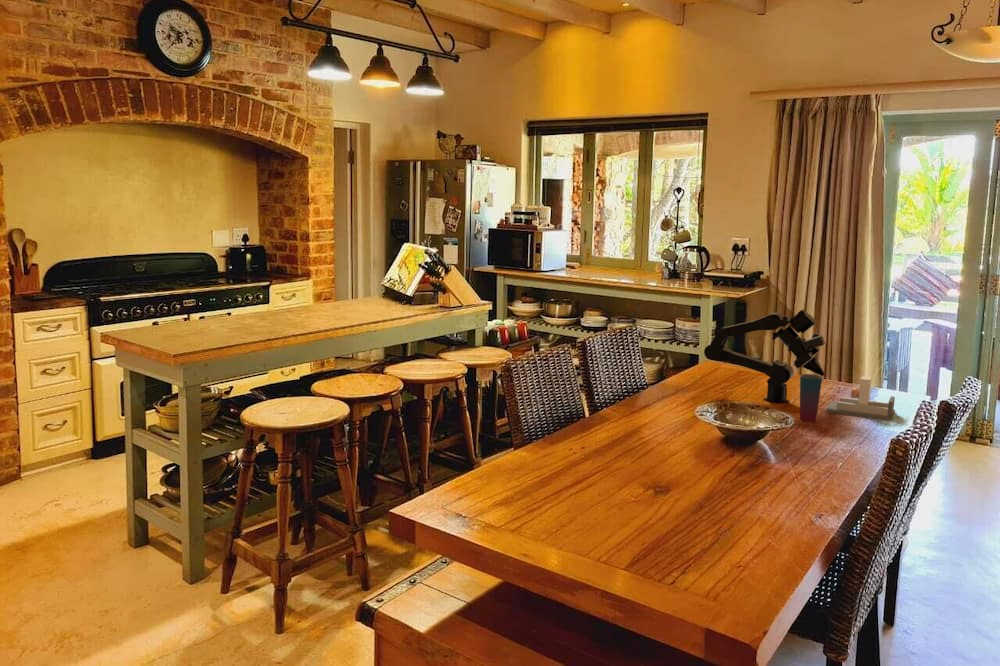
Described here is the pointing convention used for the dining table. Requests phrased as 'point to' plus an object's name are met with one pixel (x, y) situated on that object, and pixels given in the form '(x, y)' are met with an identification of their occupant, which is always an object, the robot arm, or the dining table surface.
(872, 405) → the station
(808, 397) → the cup
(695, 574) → the dining table surface
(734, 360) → the robot arm
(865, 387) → the plug
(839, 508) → the dining table surface
